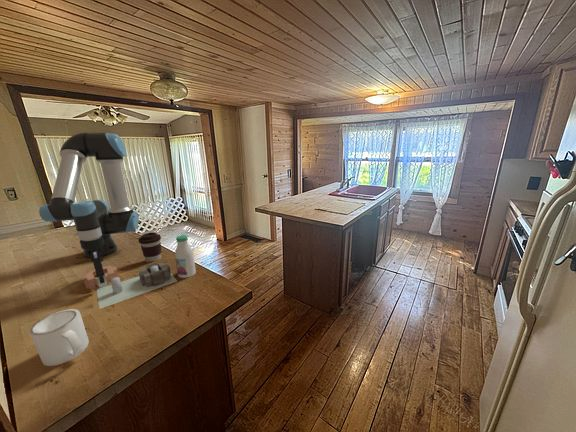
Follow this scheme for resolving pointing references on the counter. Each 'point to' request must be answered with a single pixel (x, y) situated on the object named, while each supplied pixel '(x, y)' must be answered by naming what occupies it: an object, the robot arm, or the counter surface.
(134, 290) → the board
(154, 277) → the gear
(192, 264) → the milk bottle
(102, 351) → the counter surface
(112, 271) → the gear
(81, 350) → the mug
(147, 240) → the coffee cup
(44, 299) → the counter surface
